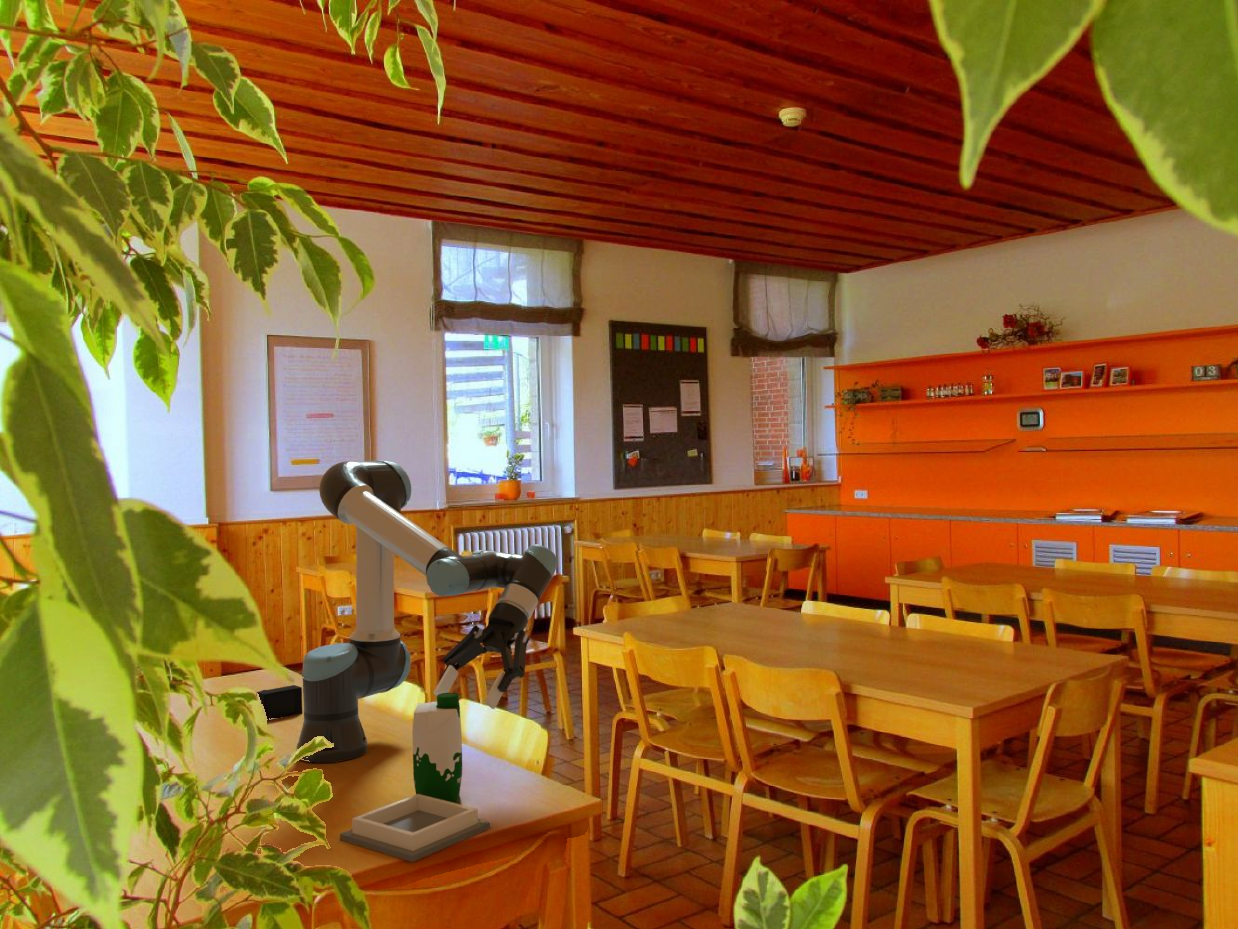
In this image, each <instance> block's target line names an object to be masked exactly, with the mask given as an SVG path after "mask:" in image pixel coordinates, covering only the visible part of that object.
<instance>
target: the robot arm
mask: <svg viewBox="0 0 1238 929" xmlns="http://www.w3.org/2000/svg"><path fill="white" fill-rule="evenodd" d="M318 490H319V498H320V500H321V502H322V504H323V506H324V507H325V509H326V510H327V511H328V512H329V513H330V514H331V515H332V516H333V517H335V518H336V519H337V520H339V521H340V522H342V523H343V524H347V525H349V524H351V525H352V524H353V525H354V526H355V528H356V531H355V532H356V536H355V537H356V538H355V539H356V541H355V542H356V543H355V544H356V547H355V549H356V552H355V553H356V556H355V557H356V563H355V564H356V568H355V569H356V571H355V573H356V574H355V576H356V578H355V580H356V583H355V585H356V586H355V588H356V598H355V600H356V601H355V602H356V603H355V604H356V607H355V610H356V611H355V614H356V615H355V616H356V617H355V622H356V623H355V630H354V631H353V632H352V633H351V634H350V635H349V638H348V639H349V640H348V642H340V643H339V642H337V643H332V644H326V645H322V646H319V647H316V648H314V649H311V650H309V651H308V652H306V654H305V655H304V658H303V660H302V671H301V677H302V699H303V724H302V726H301V731H300V735H299V738H298V742H297V744H296V750H297V749H299V748H300V747H301V746H303V745H304V744H305V743H308V742H309V741H311V740H312V739H313V738H314V737H317V736H324V737H325V738H326V739H327V740H328V741H330V742H331V743H334V747H332V748H325V749H323V750H321V751H318V752H316V753H314V754H313V755H310V756H305V757H303V758H302V759H304V760H309V761H310V762H309V763H312V762H315V764H324V763H325V764H326V763H328V764H329V763H336V762H343V761H348V760H351V759H357V758H358V757H361V756H363V755H364V754H366V753H367V752H368V739H367V737H366V734H365V731H364V727H363V726H362V722H361V720H360V717H359V700H360V699H363V698H367V697H370V696H373V695H378V694H382V693H387V692H390V691H391V690H392V689H395V688H398V687H399V686H401V685H402V684H403V683H404V682H405V680H406V679H407V677H408V676H409V673H410V669H411V665H412V661H411V660H412V659H411V653H410V651H409V650H408V649H407V647H408V646H407V645H406V643H405V642H403V641H402V639H401V633H400V632H398V630H397V629H396V628H395V555H396V556H398V557H399V558H400V559H401V560H403V561H404V562H406V563H408V565H410V566H411V567H413V569H416V570H417V571H419V572H420V573H421V574H422V575H424V576H425V578H426V583H427V585H428V587H429V589H430V591H431V592H432V593H433V594H435V595H437V596H439V597H448V596H449V597H454V596H459V595H463V594H468V593H471V592H478V591H483V590H488V589H493V588H498V589H499V588H500V589H503V591H502V592H501V595H500V596H499V598H498V599H497V602H496V603H495V605H494V607H493V608H492V611H491V612H490V614H489V615H488V618H487V620H488V621H487V622H488V623H487V626H486V627H485V628H484V629H483V628H480V627H479V626H478V625H473V627H472V628H471V630H470V631H469V632H468V634H467V635H466V636H465V637H463V638H462V639H461V640H460V641H459V642H458V643H457V644H456V645H455V646H453V647H452V649H450V650H449V651H448V652H447V653H446V654H445V655H444V656H443V657H442V658H441V661H442V663H443V664H444V665H445V669H444V670H443V672H442V674H441V676H440V677H439V681H438V683H437V685H436V687H435V688H434V691H433V694H434V696H436V697H437V695H439V694H442V693H450V690H451V689H452V687H453V685H454V683H455V681H456V679H457V677H458V676H459V674H460V673H459V672H458V671H459V670H460V669H461V668H463V667H465V666H466V665H467V664H469V663H470V662H471V661H473V660H474V659H476V658H477V657H479V656H480V655H481V654H482V655H484V654H486V653H488V652H489V653H498V654H500V655H501V656H500V657H501V660H502V667H503V669H502V671H499V672H498V674H497V676H496V678H495V679H494V680H495V681H494V682H493V684H492V686H491V687H490V689H489V691H488V693H487V695H486V697H485V698H484V702H485V703H486V704H487V706H488V707H489V708H490V709H492V710H495V709H496V707H497V705H498V704H499V702H500V699H501V698H502V697H503V694H504V693H506V692H507V690H508V689H509V686H510V685H511V684H512V681H513V680H515V679H516V678H518V677H519V678H521V679H522V678H523V677H524V676H525V674H526V673H525V672H526V660H527V659H526V656H527V646H528V644H529V642H530V639H531V638H530V637H529V635H528V633H526V631H524V630H525V628H526V626H527V625H528V623H529V620H530V619H531V617H532V615H533V613H534V611H535V609H536V608H537V606H538V604H539V601H540V600H541V598H542V596H543V594H544V592H545V591H546V589H547V588H548V586H549V583H550V582H551V580H553V578H554V575H555V572H556V570H557V568H558V565H559V559H558V557H557V556H556V554H555V553H554V552H553V551H552V550H551V549H550V548H548V547H546V546H545V545H542V544H536V543H535V544H532V545H529V546H528V547H527V549H526V550H524V552H523V553H524V554H518V553H517V554H515V553H507V552H501V551H493V550H492V549H487V550H485V549H483V550H482V549H477V550H474V551H473V552H472V553H471V554H469V555H461V554H460V553H458V552H456V551H454V550H453V549H452V548H450V547H448V546H447V545H446V544H445V543H443V542H441V541H440V540H439V539H437V538H436V537H434V536H433V535H431V534H430V533H428V532H427V531H425V529H423V528H422V527H420V526H419V525H417V524H416V523H414V522H413V521H411V520H410V519H408V518H407V517H405V515H403V514H402V509H404V507H406V506H407V504H408V502H409V501H410V499H411V496H412V484H411V480H410V477H409V474H408V473H407V471H405V469H404V468H403V467H402V466H401V465H400V464H399V463H396V462H394V461H388V460H380V459H379V460H361V461H360V460H359V461H358V460H357V461H353V460H351V461H349V460H348V461H347V460H346V461H341V462H338V463H335V464H333V465H332V466H330V467H329V468H328V469H327V470H326V471H325V472H324V474H323V476H322V477H321V479H320V483H319V489H318ZM481 643H482V644H481ZM513 644H514V650H512V645H513ZM513 651H514V652H513ZM303 677H304V678H303ZM306 757H308V758H306Z"/></svg>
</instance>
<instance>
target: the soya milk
mask: <svg viewBox="0 0 1238 929" xmlns="http://www.w3.org/2000/svg"><path fill="white" fill-rule="evenodd" d="M459 698H460V697H459V693H456V692H448V693H442V694H439V695H437V696H436V701H431V702H420V703H419V702H418V703H417V705H416V707H415V709H414V711H413V718H412V719H413V720H412V731H411V732H412V765H413V766H412V769H413V770H412V772H413V783H414V789H415V795H416V794H420V795H424V796H428V797H432V798H436V799H440V800H445V801H449V802H453V803H457V804H459V803H458V802H459V797H460V793H461V785H462V778H463V777H462V776H463V741H462V740H463V736H462V733H463V732H462V722H461V720H462V719H461V707H460V701H459Z"/></svg>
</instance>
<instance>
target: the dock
mask: <svg viewBox="0 0 1238 929" xmlns="http://www.w3.org/2000/svg"><path fill="white" fill-rule="evenodd" d="M478 810H479V809H478V808H477V807H472V806H468V805H463V804H460V803H453V802H449V801H445V800H440V799H436V798H432V797H428V796H424V795H420V794H416V793H415V794H414V795H411V796H408V797H406V798H403V799H401V800H399V801H398V800H397V801H395V802H393V803H389V804H387V805H384V806H382V807H379V808H377V809H374V810H371V811H369V812H366V813H363V814H361V815H357V816H355V817H352V819H351V821H352V823H351V825H352V826H351V827H352V828H351V829H349V830H347V831H344V832H342V833H340V834H339V840H340V841H343V842H346V843H349V844H352V845H355V846H359V847H362V848H366V849H368V850H370V851H371V850H372V851H376V852H379V853H381V854H384V855H387V856H390V857H395V858H398V859H401V860H404V861H407V862H410V863H414V862H416V861H418V860H421V859H423V858H425V857H428V856H430V855H432V854H435V853H437V852H439V851H441V850H444V849H446V848H448V847H450V846H453V845H455V844H457V843H460V842H461V841H464V840H467V839H469V838H470V837H473V836H475V835H478V834H480V833H482V832H484V831H486V830H489V829H491V821H487V819H485V818H483V819H482V818H481V819H479V811H478Z"/></svg>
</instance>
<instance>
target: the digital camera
mask: <svg viewBox="0 0 1238 929" xmlns="http://www.w3.org/2000/svg"><path fill="white" fill-rule="evenodd" d="M257 693H258V694H259V697H260V700H261V704H263V706H264V709H265V712H266V716H267V719H268V721H270V720H269V718H270V719H271V718H278V719H282V718H281V717H283V718H287V717H292V716H297V715H302V714H303V686H299V685H295V684H293V685H287V686H281V687H276V688H275V687H274V688H269V689H263V690H259V691H256V694H257ZM268 721H267V722H268Z"/></svg>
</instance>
